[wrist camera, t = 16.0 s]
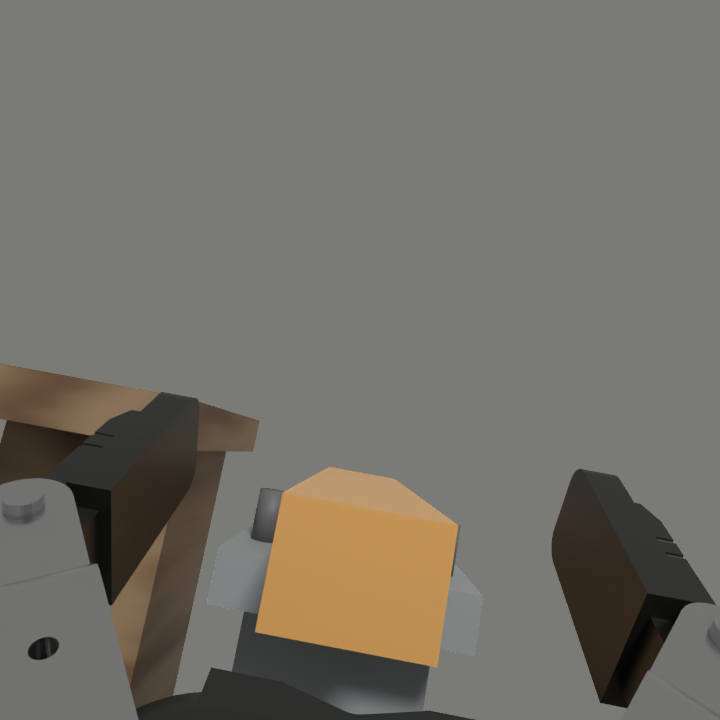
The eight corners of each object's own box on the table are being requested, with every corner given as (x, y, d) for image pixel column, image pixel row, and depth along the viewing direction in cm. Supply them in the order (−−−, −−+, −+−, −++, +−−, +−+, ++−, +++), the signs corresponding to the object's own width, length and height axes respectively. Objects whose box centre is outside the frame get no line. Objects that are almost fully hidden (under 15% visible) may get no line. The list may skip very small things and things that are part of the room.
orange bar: (385, 529, 34) (394, 478, 34) (437, 667, 12) (458, 525, 13) (320, 516, 34) (329, 466, 34) (254, 632, 12) (282, 492, 13)
